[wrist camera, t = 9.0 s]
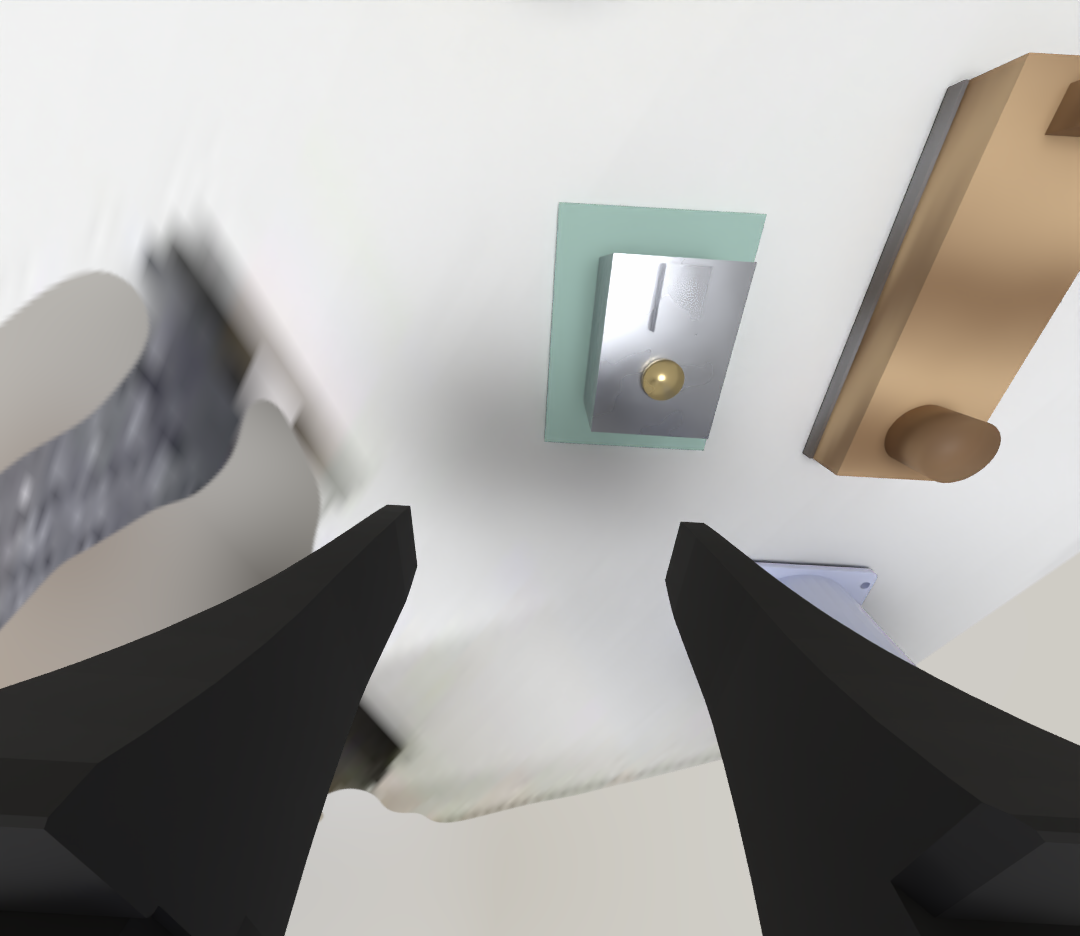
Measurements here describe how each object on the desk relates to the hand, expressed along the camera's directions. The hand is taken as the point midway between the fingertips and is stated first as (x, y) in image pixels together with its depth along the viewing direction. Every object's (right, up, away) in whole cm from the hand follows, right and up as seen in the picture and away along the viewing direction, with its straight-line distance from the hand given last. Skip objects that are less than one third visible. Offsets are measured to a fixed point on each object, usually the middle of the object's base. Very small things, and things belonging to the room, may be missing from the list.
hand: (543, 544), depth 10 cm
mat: (+4, +8, +7) cm, 11 cm away
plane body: (+16, +9, +6) cm, 20 cm away
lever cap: (+4, +8, +7) cm, 11 cm away
